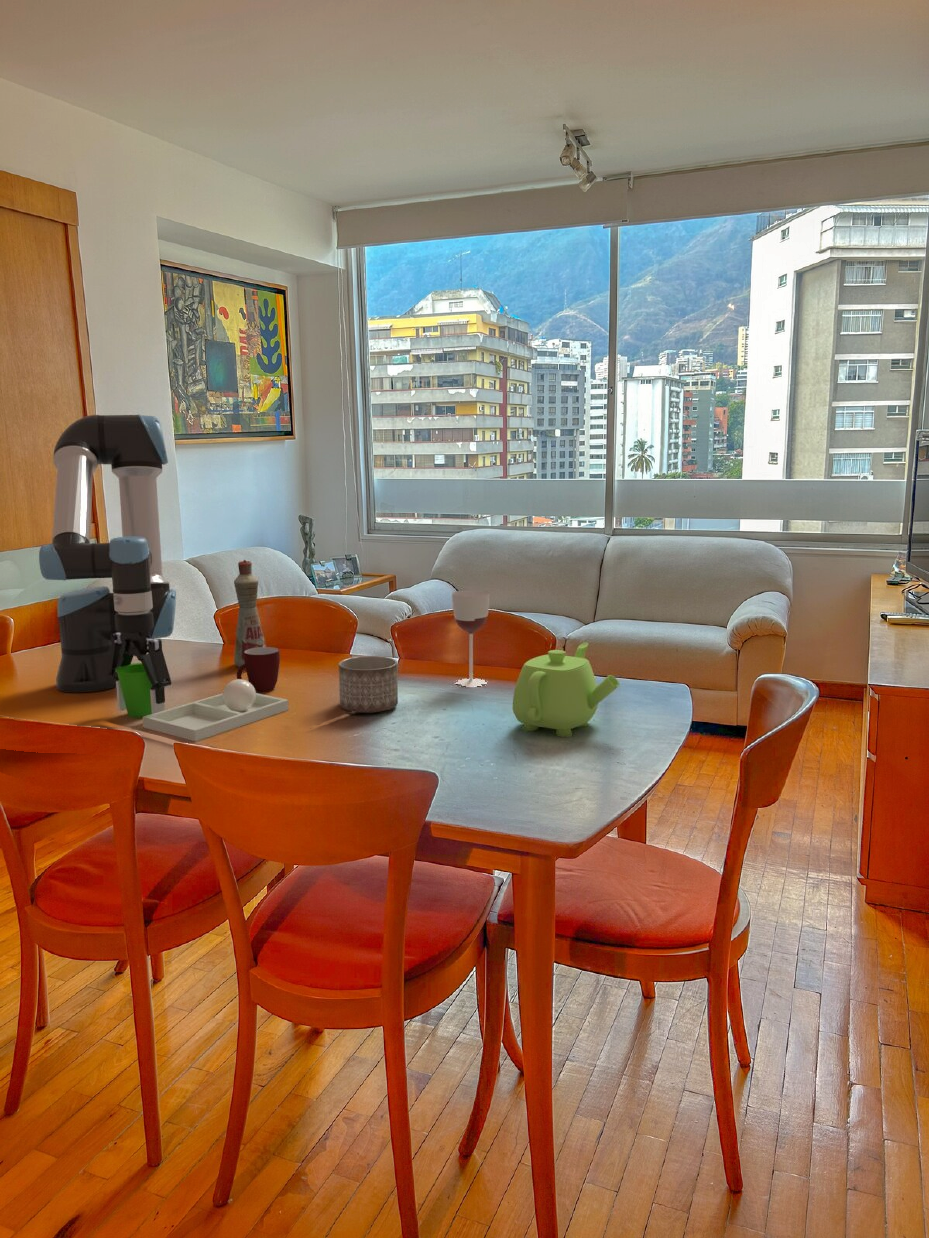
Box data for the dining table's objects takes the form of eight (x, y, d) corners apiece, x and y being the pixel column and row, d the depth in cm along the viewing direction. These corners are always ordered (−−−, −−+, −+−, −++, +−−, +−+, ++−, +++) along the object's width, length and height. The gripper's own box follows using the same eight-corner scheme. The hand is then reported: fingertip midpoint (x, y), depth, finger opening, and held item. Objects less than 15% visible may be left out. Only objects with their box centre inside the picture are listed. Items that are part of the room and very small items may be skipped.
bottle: (252, 659, 242) (247, 556, 237) (275, 664, 237) (271, 559, 232) (227, 666, 235) (221, 560, 230) (250, 671, 230) (244, 562, 225)
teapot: (594, 753, 169) (596, 671, 165) (495, 734, 180) (495, 657, 177) (643, 718, 189) (646, 645, 186) (551, 703, 201) (552, 634, 197)
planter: (373, 697, 206) (372, 653, 204) (409, 708, 198) (409, 662, 196) (328, 708, 198) (326, 662, 196) (364, 720, 189) (363, 672, 187)
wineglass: (446, 685, 215) (446, 595, 211) (461, 676, 224) (461, 589, 220) (480, 689, 212) (480, 597, 208) (494, 679, 221) (495, 591, 217)
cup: (173, 714, 194) (169, 664, 191) (142, 726, 185) (138, 674, 183) (141, 709, 197) (137, 660, 195) (109, 721, 189) (105, 670, 187)
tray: (143, 730, 182) (142, 716, 182) (237, 701, 203) (237, 688, 202) (196, 745, 174) (195, 730, 173) (288, 713, 194) (288, 699, 193)
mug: (251, 701, 203) (249, 658, 201) (230, 695, 208) (227, 653, 206) (288, 691, 211) (286, 650, 209) (266, 685, 216) (264, 645, 214)
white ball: (216, 712, 192) (214, 680, 191) (241, 704, 198) (239, 673, 196) (238, 717, 188) (237, 685, 187) (263, 709, 194) (262, 678, 193)
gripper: (84, 608, 190) (92, 708, 195) (154, 620, 177) (161, 727, 182) (115, 603, 196) (122, 700, 201) (185, 614, 184) (191, 717, 188)
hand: (141, 713), depth 191 cm, fingers open, 11 cm apart
